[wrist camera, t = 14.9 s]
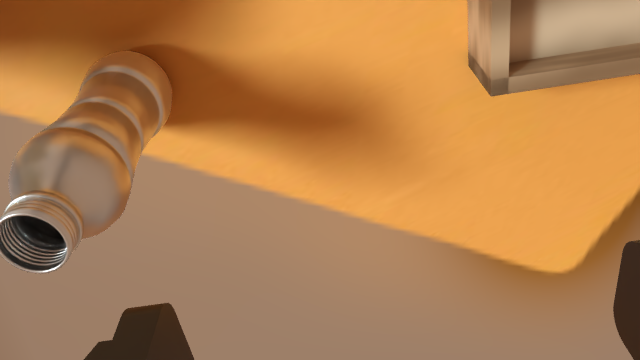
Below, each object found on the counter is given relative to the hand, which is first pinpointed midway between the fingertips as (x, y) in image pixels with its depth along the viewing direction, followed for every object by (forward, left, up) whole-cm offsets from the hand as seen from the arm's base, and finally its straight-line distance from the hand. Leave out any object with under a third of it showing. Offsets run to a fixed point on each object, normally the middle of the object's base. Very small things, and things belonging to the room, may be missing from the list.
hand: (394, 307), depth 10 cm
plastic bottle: (+7, -16, -34) cm, 38 cm away
